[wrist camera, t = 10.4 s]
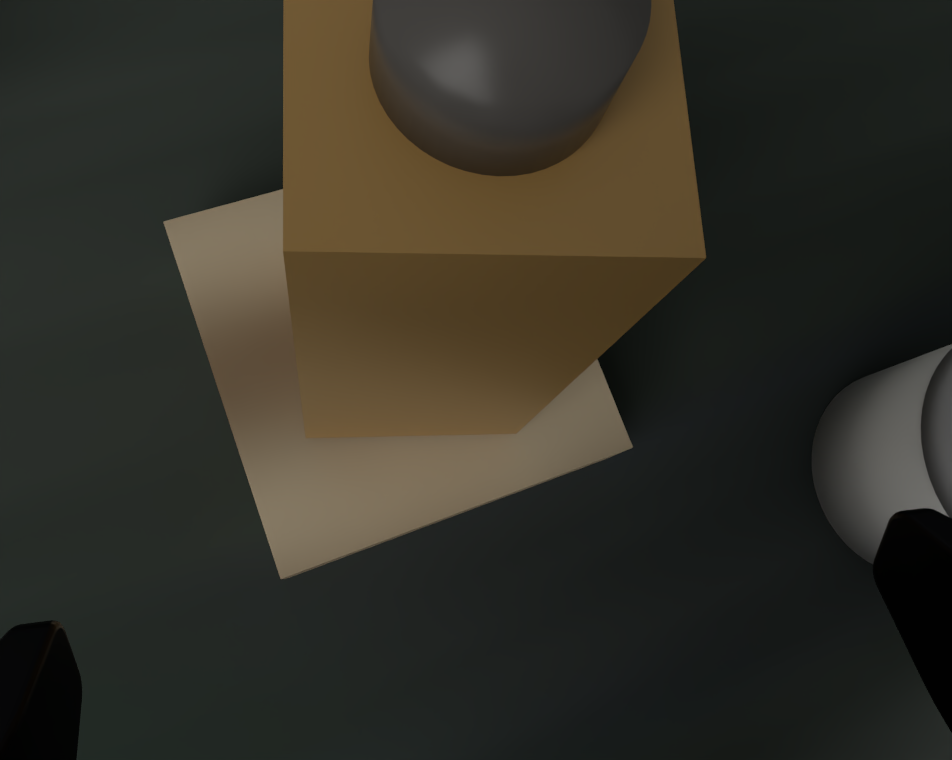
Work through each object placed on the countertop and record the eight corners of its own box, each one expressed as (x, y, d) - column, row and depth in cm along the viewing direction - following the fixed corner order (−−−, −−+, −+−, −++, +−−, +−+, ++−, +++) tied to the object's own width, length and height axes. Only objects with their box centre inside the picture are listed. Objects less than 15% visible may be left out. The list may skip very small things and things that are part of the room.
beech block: (597, 462, 24) (633, 447, 22) (288, 578, 22) (280, 579, 20) (486, 178, 26) (504, 128, 23) (184, 264, 24) (163, 221, 21)
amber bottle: (516, 433, 21) (766, 202, 9) (305, 438, 20) (274, 189, 8) (503, 242, 22) (709, -184, 10) (304, 238, 21) (277, -231, 9)
